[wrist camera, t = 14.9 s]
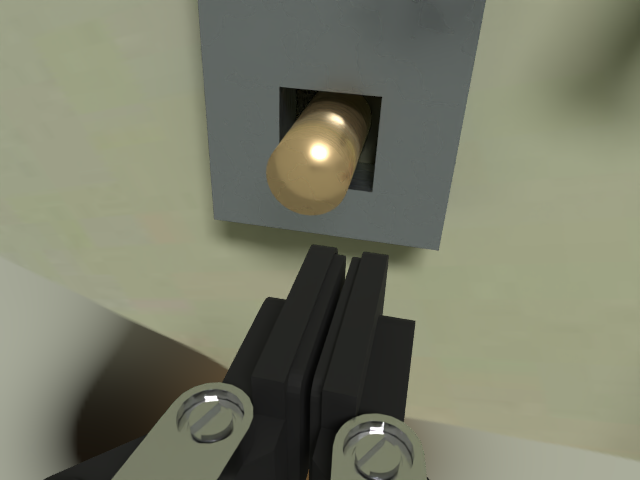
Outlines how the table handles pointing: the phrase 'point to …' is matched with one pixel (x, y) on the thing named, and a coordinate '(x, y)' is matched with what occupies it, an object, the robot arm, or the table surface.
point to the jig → (343, 77)
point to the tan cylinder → (320, 153)
